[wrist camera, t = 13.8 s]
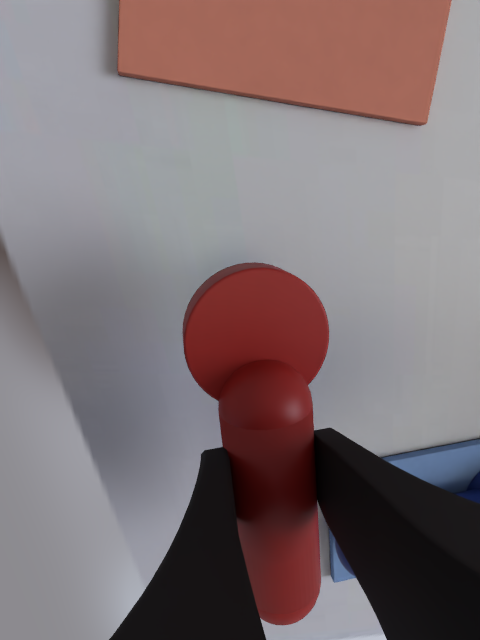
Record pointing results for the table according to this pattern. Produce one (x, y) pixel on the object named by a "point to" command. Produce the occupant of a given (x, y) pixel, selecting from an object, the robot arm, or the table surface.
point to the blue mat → (428, 478)
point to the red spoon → (265, 420)
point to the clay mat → (292, 51)
